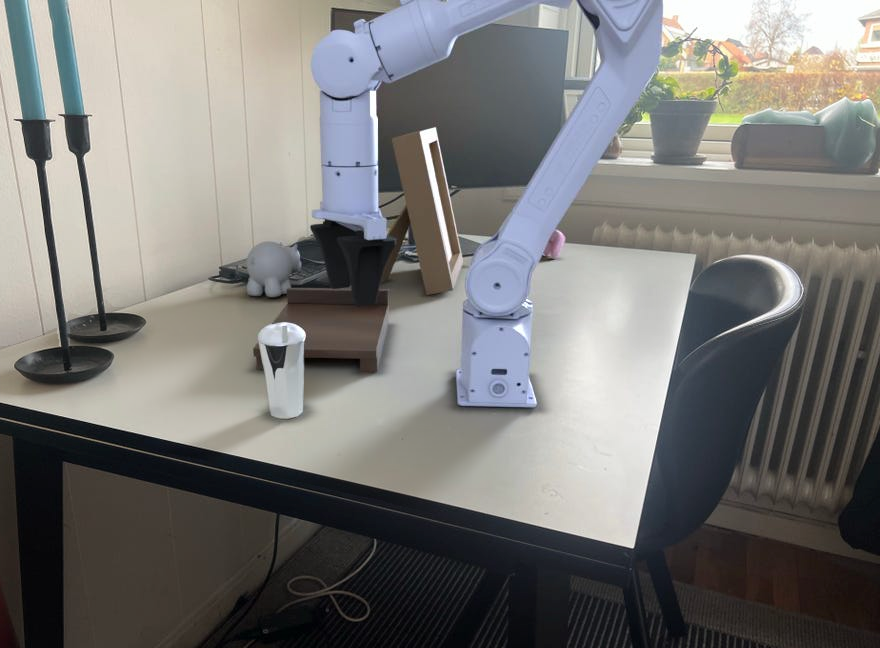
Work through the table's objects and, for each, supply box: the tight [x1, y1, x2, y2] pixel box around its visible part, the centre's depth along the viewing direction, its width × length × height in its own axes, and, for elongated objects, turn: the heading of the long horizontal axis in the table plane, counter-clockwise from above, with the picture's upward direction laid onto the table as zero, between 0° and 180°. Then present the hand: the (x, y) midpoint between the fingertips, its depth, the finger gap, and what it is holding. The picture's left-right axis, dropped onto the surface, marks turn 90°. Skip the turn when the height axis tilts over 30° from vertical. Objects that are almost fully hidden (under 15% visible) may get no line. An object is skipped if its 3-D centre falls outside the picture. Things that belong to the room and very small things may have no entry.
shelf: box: [252, 287, 390, 373], centre depth 89 cm, size 20×14×5 cm
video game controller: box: [542, 228, 566, 260], centre depth 143 cm, size 10×5×7 cm, turn 58°
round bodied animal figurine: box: [245, 241, 302, 298], centre depth 114 cm, size 7×12×8 cm, turn 152°
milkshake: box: [257, 322, 306, 420], centre depth 69 cm, size 4×5×10 cm
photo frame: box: [381, 126, 464, 296], centre depth 120 cm, size 15×22×25 cm
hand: (352, 295), depth 76 cm, fingers open, 7 cm apart
